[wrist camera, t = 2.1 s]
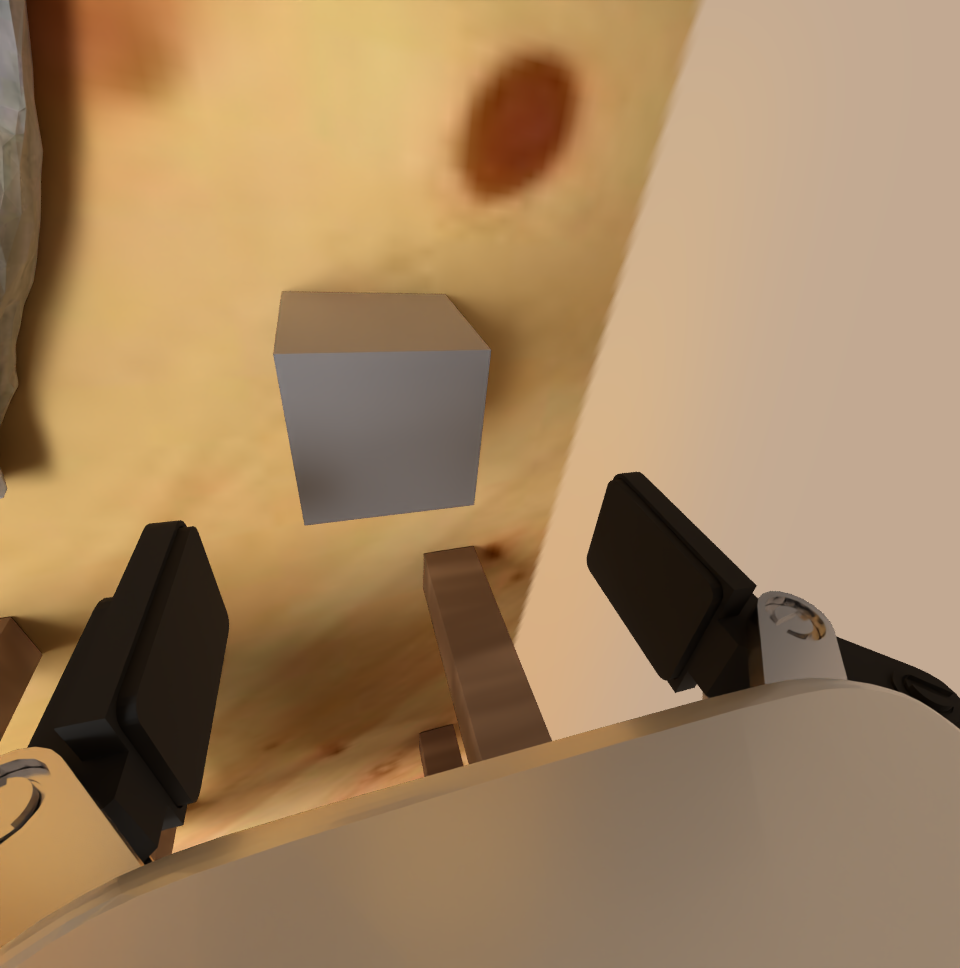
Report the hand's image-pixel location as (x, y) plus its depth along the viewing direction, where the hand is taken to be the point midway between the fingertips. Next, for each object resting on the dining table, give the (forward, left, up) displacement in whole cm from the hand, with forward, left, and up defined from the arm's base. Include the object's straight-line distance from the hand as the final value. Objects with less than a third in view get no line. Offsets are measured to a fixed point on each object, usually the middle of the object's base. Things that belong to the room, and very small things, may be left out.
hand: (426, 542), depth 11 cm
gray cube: (-1, 0, -8) cm, 8 cm away
